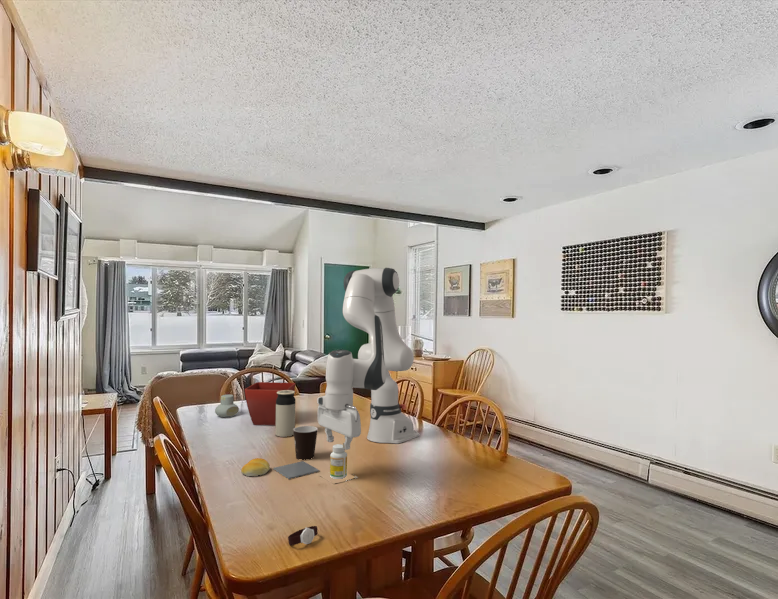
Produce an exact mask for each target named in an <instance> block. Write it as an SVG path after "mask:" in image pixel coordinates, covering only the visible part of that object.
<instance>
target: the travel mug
mask: <svg viewBox="0 0 778 599" xmlns="http://www.w3.org/2000/svg"><path fill="white" fill-rule="evenodd" d="M295 392H296V391H295V390H294V391H292V390H282V391H278V392H277V394H278V397H277V399H276V425H275V436H277V437H278V436H280V438H287V436H290V437H293V436H294V432H293V429H294V428H296V397H295ZM292 435H293V436H292Z"/></svg>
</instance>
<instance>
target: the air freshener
mask: <svg viewBox="0 0 778 599" xmlns="http://www.w3.org/2000/svg"><path fill="white" fill-rule="evenodd" d="M234 398H235V396H234V395H233V394H223V395H220V404H219V405H217V406H216V407H215V409H214V413H215V415H216V416H218V417H220V418H232V417H234V416H236V415H237V414H238V413H239V410H240V408H239V406H238V405H237V404H236V403H234Z"/></svg>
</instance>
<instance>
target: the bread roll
mask: <svg viewBox="0 0 778 599" xmlns="http://www.w3.org/2000/svg"><path fill="white" fill-rule="evenodd" d="M270 469H271V466H270V463H269V462H268V461H267V460H266V459H264V458H261V457H260V458H259V457H258V458H257V457H256V458H255V457H254V458H252V459H251V460H249V461H248V462H247V463H246V464H244V465H243V466H242V467H241V474H242V475H243V474H244V476H245V475H246V476H245V477H249V476H254V477H259V476H258V475H260V476H263V475H266V474H267V473H268V472H269V471H270Z"/></svg>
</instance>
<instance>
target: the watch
mask: <svg viewBox="0 0 778 599" xmlns="http://www.w3.org/2000/svg"><path fill="white" fill-rule="evenodd" d="M318 535H319V534H318V526H317V525H312V526H306V527H304V528H302V529H298V530H296V531H295V532H292V533H291V534H289V535H288V536H287V540H288V545H289V546H295V545H299V544H302V543H303V544H304V545H308V544H311V543H312V542H313V540H314V538H315V537H316V536H318Z"/></svg>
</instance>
